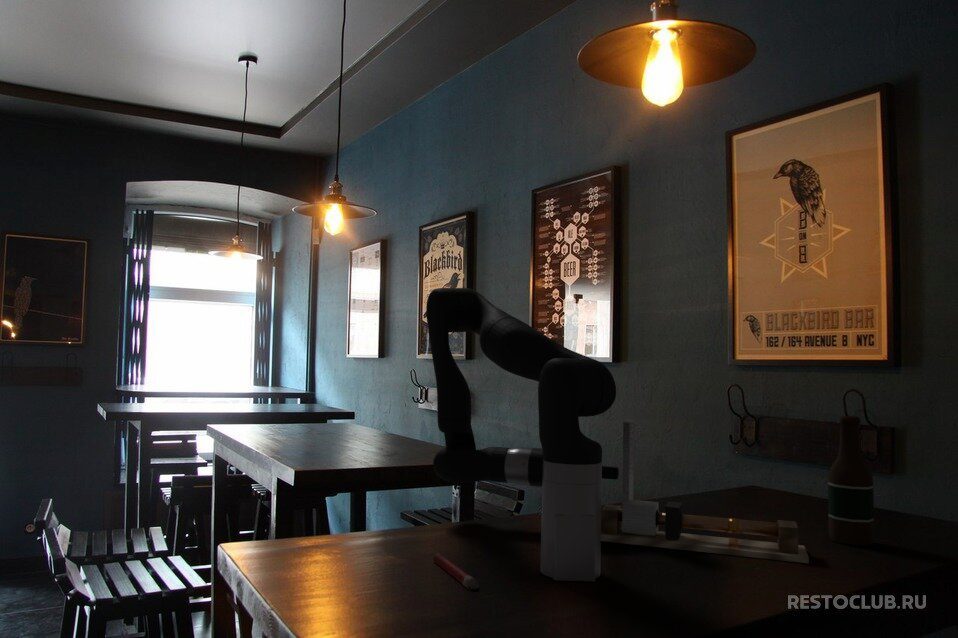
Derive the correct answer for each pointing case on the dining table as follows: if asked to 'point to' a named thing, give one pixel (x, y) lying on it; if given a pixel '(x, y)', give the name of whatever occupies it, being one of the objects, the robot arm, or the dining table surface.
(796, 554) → the pipe stand
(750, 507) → the dining table surface
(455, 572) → the flare
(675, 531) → the ring
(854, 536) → the beer bottle
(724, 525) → the pipe
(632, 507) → the grey l-shaped bracket
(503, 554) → the dining table surface
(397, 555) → the dining table surface
